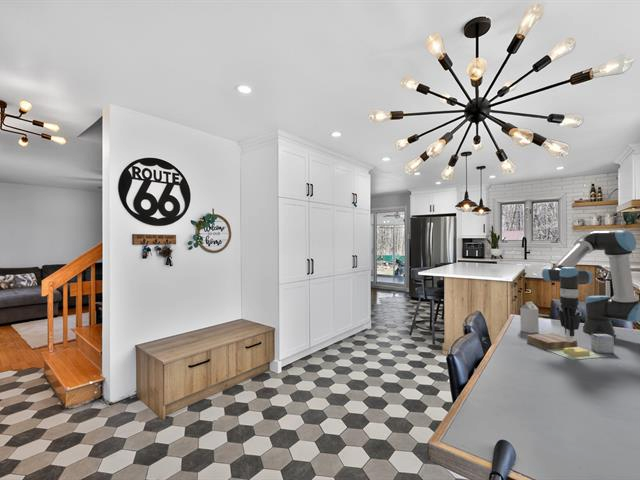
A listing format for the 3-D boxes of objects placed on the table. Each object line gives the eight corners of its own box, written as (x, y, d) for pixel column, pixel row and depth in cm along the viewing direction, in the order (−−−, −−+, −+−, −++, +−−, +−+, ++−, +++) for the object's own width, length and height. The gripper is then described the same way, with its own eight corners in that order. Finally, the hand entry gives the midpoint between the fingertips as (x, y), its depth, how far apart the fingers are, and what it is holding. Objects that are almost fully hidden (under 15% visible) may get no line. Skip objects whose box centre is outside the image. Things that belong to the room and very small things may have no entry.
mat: (578, 347, 170) (578, 347, 170) (606, 357, 156) (606, 356, 156) (546, 350, 167) (546, 349, 167) (571, 360, 153) (571, 359, 153)
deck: (554, 340, 184) (553, 333, 184) (577, 347, 170) (577, 340, 170) (527, 341, 181) (526, 335, 181) (548, 350, 167) (548, 342, 167)
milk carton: (520, 330, 203) (520, 301, 203) (527, 329, 206) (526, 300, 206) (531, 333, 197) (531, 303, 197) (538, 332, 200) (538, 302, 200)
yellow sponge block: (589, 350, 159) (589, 354, 159) (578, 346, 165) (578, 350, 165) (574, 352, 157) (574, 356, 157) (563, 348, 163) (563, 351, 163)
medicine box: (607, 350, 166) (606, 333, 166) (614, 353, 161) (613, 336, 161) (591, 349, 167) (590, 333, 167) (597, 352, 162) (597, 336, 162)
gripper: (551, 294, 170) (552, 338, 170) (574, 299, 157) (575, 346, 157) (563, 294, 172) (564, 337, 171) (587, 298, 159) (588, 345, 158)
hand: (569, 341), depth 164 cm, fingers closed
